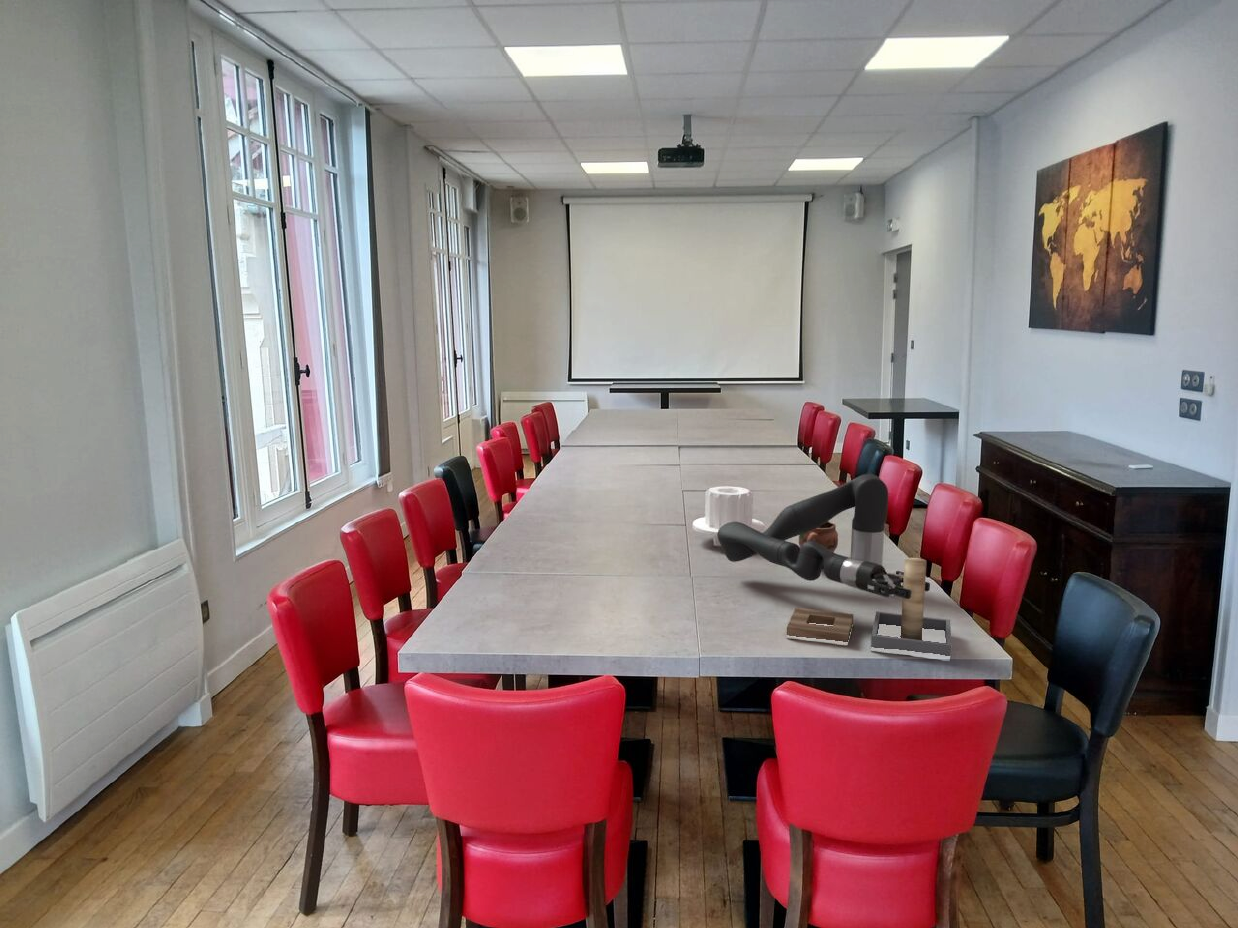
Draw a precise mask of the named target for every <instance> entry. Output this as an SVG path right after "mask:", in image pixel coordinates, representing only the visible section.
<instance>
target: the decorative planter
mask: <svg viewBox="0 0 1238 928" xmlns="http://www.w3.org/2000/svg"><path fill="white" fill-rule="evenodd" d="M836 527H837V526H836V523H834V522H831V521H830V520H829V521H828V522H826V523H825V524H823V525H822V526H820V527H818V528H816V529H814V530H811V531H808V532H806V533H803V534H801V535H798V546H799V547H800V548H801V546H802V544H803V543H804V542H807V541H815V542H817V543H819V544H821V545H823V546H824V547H825V548H827V549H828V550H830V551H832V552H834V553H835V551H836V549H837V548H838V544H839V538H838V537H839V532H838V531H837V530H836ZM823 568H824V564H823Z"/></svg>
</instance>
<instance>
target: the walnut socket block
mask: <svg viewBox="0 0 1238 928" xmlns="http://www.w3.org/2000/svg"><path fill="white" fill-rule="evenodd" d="M854 617H855V615H854V613H845V612H836V611H828V610H821V609H820V610H819V609H810V608H803V607H795V609H794V611H792V614H791V617H790V618H789V621H788V624H787V626H786V635H789V636H796V637H806V638H816V639H826V640H835V641H843V642H848V640H849V641H850V639H849V636H850V637H851V635H850V632H851V628H852V625H853V626H854ZM809 623H816V624H827V625H833V626H824V625H816V624H809ZM852 629H853V628H852ZM851 633H852V632H851Z"/></svg>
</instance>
